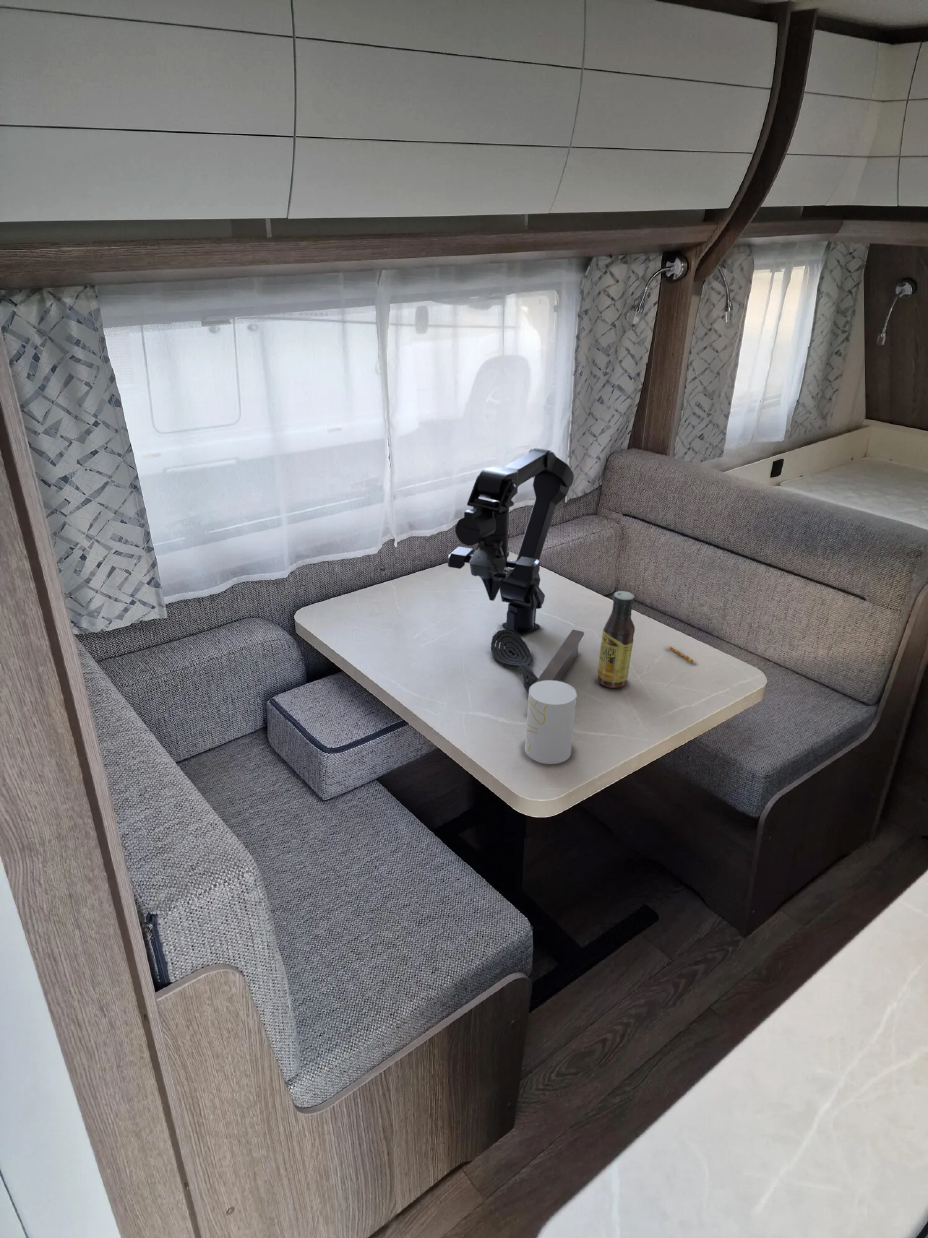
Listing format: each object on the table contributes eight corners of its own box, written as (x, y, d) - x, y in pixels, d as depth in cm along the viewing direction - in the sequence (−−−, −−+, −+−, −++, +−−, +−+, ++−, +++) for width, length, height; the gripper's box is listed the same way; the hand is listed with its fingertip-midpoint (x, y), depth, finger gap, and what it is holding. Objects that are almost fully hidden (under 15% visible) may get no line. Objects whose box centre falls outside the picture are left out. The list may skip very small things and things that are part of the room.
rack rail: (570, 653, 179) (572, 629, 176) (582, 655, 178) (584, 631, 175) (529, 715, 155) (530, 689, 153) (542, 718, 154) (544, 692, 152)
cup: (521, 738, 148) (525, 680, 143) (566, 737, 149) (571, 679, 144) (528, 764, 141) (532, 705, 136) (575, 763, 142) (581, 704, 136)
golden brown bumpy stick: (694, 663, 176) (694, 659, 175) (690, 664, 175) (691, 660, 175) (670, 647, 182) (670, 643, 181) (666, 648, 181) (667, 644, 181)
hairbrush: (518, 689, 158) (485, 627, 180) (516, 704, 160) (485, 641, 181) (558, 685, 160) (521, 624, 182) (556, 700, 162) (520, 639, 183)
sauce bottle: (590, 677, 169) (599, 589, 160) (616, 672, 171) (627, 585, 162) (607, 692, 163) (617, 602, 155) (633, 687, 166) (645, 598, 157)
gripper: (437, 537, 164) (437, 607, 171) (525, 551, 158) (522, 623, 165) (458, 520, 173) (457, 587, 180) (542, 532, 167) (538, 601, 174)
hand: (492, 599), depth 174 cm, fingers closed
